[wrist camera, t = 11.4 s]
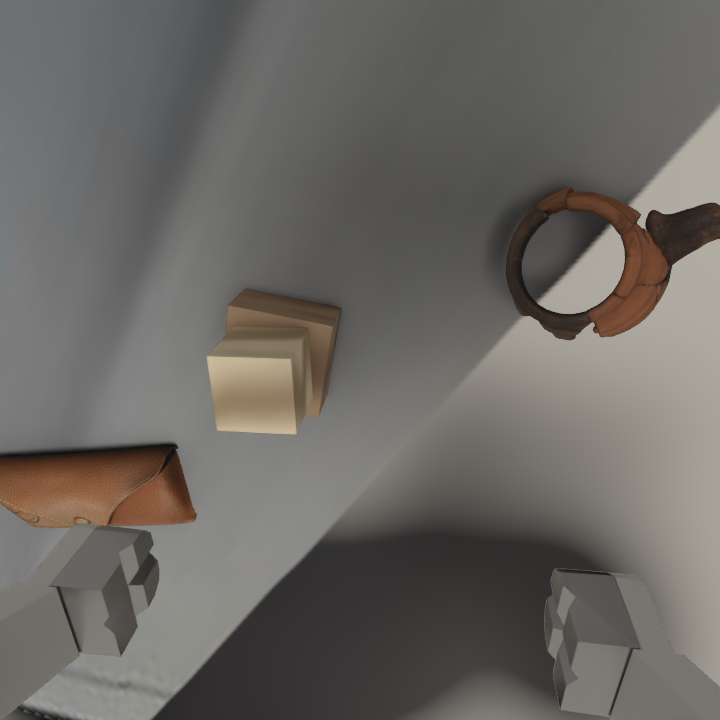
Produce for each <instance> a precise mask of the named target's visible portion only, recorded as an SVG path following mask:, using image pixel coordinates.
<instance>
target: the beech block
mask: <svg viewBox="0 0 720 720" xmlns="http://www.w3.org/2000/svg"><path fill="white" fill-rule="evenodd" d="M207 362H208V369H209V376H210V383H211V390H212V397H213V404H214V411H215V418H216V425H217V431H236V432H257V433H277V434H297V432H298V430H299V428H300V425H301V423H302V421H303V418H304V416H305V413H306V411H307V409H308V406H309V404H310V402H311V399H312V397H313V391H312V374H311V357H310V340H309V328H280V327H241V326H235V327H234V328H233V329H232V330H231V331H230V332H229V333H228V334H227V335H226V336H225V337H224V338H223V339H222V341H221V342H220V343H219V344H218V345H217V346H216V347H215V348H214V349H213V350H212V351H211V352H210V353H209V354H208V355H207Z"/></svg>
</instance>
